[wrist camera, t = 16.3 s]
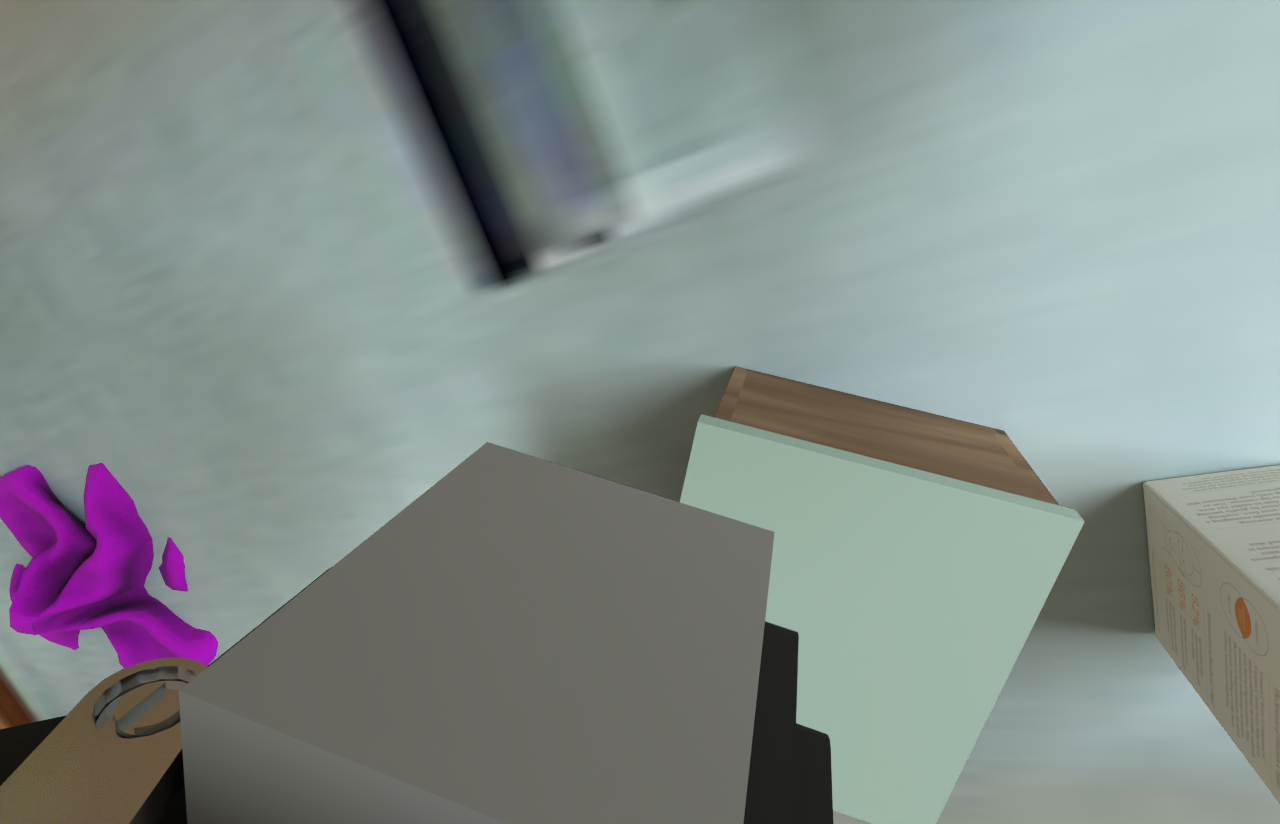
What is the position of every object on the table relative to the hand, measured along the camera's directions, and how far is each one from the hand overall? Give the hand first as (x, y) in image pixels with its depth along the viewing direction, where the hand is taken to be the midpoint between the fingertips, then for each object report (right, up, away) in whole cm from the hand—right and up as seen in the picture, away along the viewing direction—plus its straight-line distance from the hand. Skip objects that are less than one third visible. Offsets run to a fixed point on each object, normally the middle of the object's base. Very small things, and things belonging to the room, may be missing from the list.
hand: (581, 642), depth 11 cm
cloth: (-37, -7, +37) cm, 52 cm away
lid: (+8, -5, +14) cm, 17 cm away
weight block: (0, 0, +1) cm, 1 cm away
